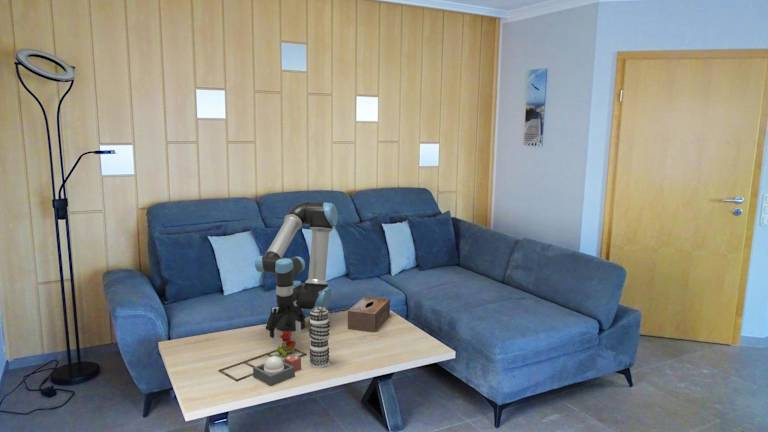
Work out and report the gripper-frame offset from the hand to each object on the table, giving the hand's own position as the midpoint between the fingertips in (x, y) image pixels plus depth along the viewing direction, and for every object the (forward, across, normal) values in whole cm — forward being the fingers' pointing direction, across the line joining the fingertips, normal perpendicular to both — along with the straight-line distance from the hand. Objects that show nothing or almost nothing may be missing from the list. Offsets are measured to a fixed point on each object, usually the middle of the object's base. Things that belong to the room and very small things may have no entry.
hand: (286, 339), depth 247 cm
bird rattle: (+7, 0, 0) cm, 7 cm away
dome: (+6, -17, -14) cm, 23 cm away
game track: (+7, -12, 0) cm, 14 cm away
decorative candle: (+7, +4, -18) cm, 20 cm away
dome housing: (+7, -14, -14) cm, 21 cm away
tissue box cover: (+9, +55, +2) cm, 56 cm away
